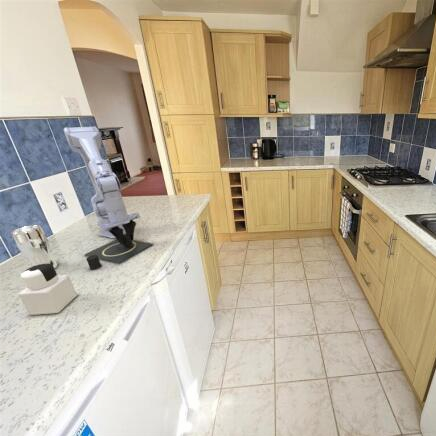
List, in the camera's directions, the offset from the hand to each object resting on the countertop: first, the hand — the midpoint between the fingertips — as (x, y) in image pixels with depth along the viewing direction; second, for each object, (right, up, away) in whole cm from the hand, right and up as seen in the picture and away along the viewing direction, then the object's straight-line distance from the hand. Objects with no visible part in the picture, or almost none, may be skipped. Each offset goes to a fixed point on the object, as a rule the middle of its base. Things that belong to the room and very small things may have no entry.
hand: (127, 241), depth 94 cm
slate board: (-2, -3, -1) cm, 4 cm away
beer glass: (-20, -8, -11) cm, 24 cm away
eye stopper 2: (0, -1, +1) cm, 1 cm away
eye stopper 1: (-3, -8, -11) cm, 14 cm away
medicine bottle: (-1, -15, -27) cm, 31 cm away
